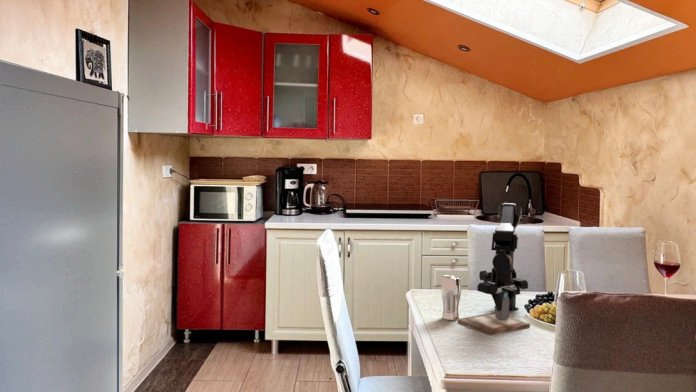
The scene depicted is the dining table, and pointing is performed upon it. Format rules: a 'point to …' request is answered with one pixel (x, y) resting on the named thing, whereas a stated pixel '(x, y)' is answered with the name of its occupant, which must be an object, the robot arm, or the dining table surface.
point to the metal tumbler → (451, 296)
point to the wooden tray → (493, 323)
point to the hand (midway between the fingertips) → (502, 310)
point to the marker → (503, 308)
